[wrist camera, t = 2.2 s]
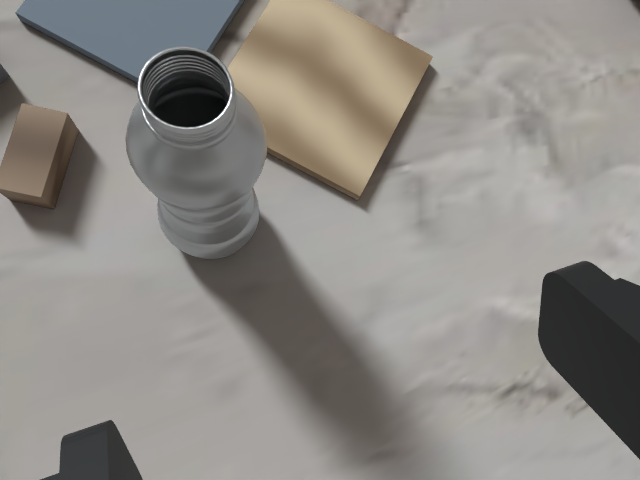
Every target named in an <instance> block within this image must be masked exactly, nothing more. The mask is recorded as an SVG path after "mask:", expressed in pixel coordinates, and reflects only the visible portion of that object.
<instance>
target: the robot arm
mask: <svg viewBox="0 0 640 480" xmlns="http://www.w3.org/2000/svg"><path fill="white" fill-rule="evenodd" d="M538 338H539V343H540V346H541V349H542V351H543V353H544V355H545V357H546V359H547V360H548V361H549V363H550V364H551V365H552V366H553V367H554V368H555V370H556V371H557V372H558V373H559V374H560V375H561V376H562V377H563V378H564V379H565V380H566V381H567V382H568V383H569V384H570V386H571V387H572V388H573V389H574V390H575V391H576V392H577V393H578V394H579V395H580V396H581V397H582V398H583V399H584V400H585V402H586V403H587V404H588V405H589V406H590V407H591V408H592V409H593V410H594V411H595V412H596V413H597V414H598V415H599V416H600V418H601V419H602V420H603V421H604V422H605V423H606V424H607V425H608V426H609V427H610V428H611V429H612V430H613V431H614V432H615V433H616V435H617V436H618V437H619V438H620V439H621V440H622V441H623V442H624V443H625V444H626V445H627V446H628V447H629V448H630V449H631V451H632V452H633V453H634V454H635V455H636V456H637V457H638V458H639V459H640V286H639V285H636V284H634V283H631V282H629V281H626V280H624V279H621V278H619V279H617V280H614V279H612V278H611V277H610V276H608V275H607V274H606V273H605V272H603V271H602V270H601V269H599V268H598V267H597V266H595V265H594V264H592V263H590V262H587V261H582V262H579V263H576V264H573V265H570V266H567V267H564V268H561V269H559V270H556V271H553V272H550V273H547V274H546V275H545V277H544V279H543V284H542V295H541V306H540V317H539V328H538ZM41 480H142V477H141V475H140V473H139V471H138V469H137V467H136V465H135V463H134V461H133V459H132V457H131V455H130V453H129V451H128V449H127V447H126V445H125V443H124V441H123V439H122V437H121V435H120V433H119V431H118V429H117V427H116V425H115V424H114V422H113V421H111V420H109V421H106V422H103V423H100V424H97V425H94V426H91V427H88V428H85V429H82V430H79V431H76V432H73V433H70V434H68V435H65V436H64V437H63V438H62V441H61V451H60V471H59V473H58V474H55V475H52V476H49V477H46V478H44V479H41Z"/></svg>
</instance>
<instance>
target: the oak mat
mask: <svg viewBox="0 0 640 480" xmlns="http://www.w3.org/2000/svg"><path fill="white" fill-rule="evenodd" d="M432 58H433V56H431V55H429V54H427V53H425V52H424V51H422V50H420V49H418V48H416V47H414V46H412V45H411V44H409V43H407V42H405V41H403V40H401V39H399V38H397V37H396V36H394V35H392V34H390V33H388V32H386V31H384V30H382V29H381V28H379V27H377V26H375V25H373V24H371V23H369V22H368V21H366V20H364V19H362V18H360V17H358V16H356V15H354V14H353V13H351V12H349V11H347V10H345V9H343V8H341V7H339V6H338V5H336V4H334V3H332V2H330V1H328V0H270V2H269V4H268V5H267V7H266V8H265V10H264V12H263V13H262V15H261V16H260V18H259V19H258V21H257V23H256V24H255V26H254V27H253V29H252V31H251V32H250V34H249V35H248V37H247V38H246V40H245V42H244V43H243V45H242V46H241V48H240V49H239V51H238V53H237V54H236V56H235V57H234V59H233V61H232V62H231V64H230V65H229V67H228V68H227V70H228V71H229V73H230V75H231V77H232V80H233V83H234V88H236V89H237V90H238V91H240V92H241V93H242V94H243V95H244V96H245V97H246V98H247V99H248V100H249V101H250V102H251V104H252V105H253V107H254V108H255V110H256V111H257V113H258V114H259V116H260V118H261V119H262V122H263V125H264V128H265V130H266V136H267V152H268V153H269V154H271V155H273V156H275V157H277V158H279V159H281V160H283V161H284V162H286V163H288V164H290V165H292V166H294V167H296V168H298V169H299V170H301V171H303V172H305V173H307V174H309V175H311V176H313V177H315V178H316V179H318V180H320V181H322V182H324V183H326V184H328V185H330V186H331V187H333V188H335V189H337V190H339V191H341V192H343V193H345V194H346V195H348V196H350V197H352V198H354V199H356V200H358V199H359V197H360V196H361V194H362V192H363V190H364V188H365V186H366V184H367V182H368V180H369V178H370V176H371V175H372V173H373V171H374V169H375V167H376V165H377V163H378V161H379V159H380V157H381V155H382V153H383V152H384V150H385V148H386V146H387V144H388V142H389V140H390V138H391V136H392V134H393V132H394V130H395V129H396V127H397V125H398V123H399V121H400V119H401V117H402V115H403V113H404V111H405V109H406V107H407V106H408V104H409V102H410V100H411V98H412V96H413V94H414V92H415V90H416V88H417V86H418V84H419V83H420V81H421V79H422V77H423V75H424V73H425V71H426V69H427V67H428V65H429V63H430V61H431V60H432Z"/></svg>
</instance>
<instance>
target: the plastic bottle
mask: <svg viewBox="0 0 640 480" xmlns="http://www.w3.org/2000/svg"><path fill="white" fill-rule="evenodd" d="M137 91H138V98H139V101H138V103H137V104H136V106H135V107H134V109H133V112H132V115H131V117H130V120H129V123H128V126H127V132H126V150H127V154H128V158H129V161H130V164H131V166H132V168H133V169H134V171H135V173H136V175H137V176H138V177H139V179H140V180H141V182H142V183H143V184H144V185H145V186H146V187H147V188H148V189H149V191H151V192H152V193H153V194H154V195H155V196H156V197H158V204H157V211H158V220H159V223H160V226H161V229H162V231H163V232H164V234H165V236H166V237H167V238H168V240H169V241H170V242H171V243H172V244H173V245H174V246H176V247H177V248H178V249H180V250H181V251H183V252H185V253H187V254H189V255H192V256H195V257H198V258H203V259H218V258H223V257H226V256H229V255H231V254H233V253H235V252H237V251H238V250H239V249H241V248H242V247H243V246H244V245H246V243H247V242H248V241H249V240H250V239H251V238H252V236H253V234H254V232H255V230H256V228H257V225H258V221H259V204H258V200H257V197H256V194H255V191H254V189H253V186H254V184H255V183H256V181H257V179H258V178H259V176H260V174H261V172H262V169H263V166H264V162H265V159H266V156H267V136H266V130H265V128H264V125H263V122H262V119H261V118H260V116H259V114H258V113H257V111H256V110H255V108H254V107H253V105H252V104H251V102H250V101H249V100H248V99H247V98H246V97H245V96H244V95H243V94H242V93H241V92H240V91H238V90H237V89H236V88H234V83H233V80H232V77H231V75H230V73H229V71H228V70H227V68H226V66H225V65H224V64H223V63H222V62H221V61H220V60H219V59H218V58H217V57H215V56H214V55H213V54H211V53H209V52H207V51H205V50H202V49H199V48H196V47H188V46H177V47H172V48H168V49H165V50H163V51H160V52H158V53H157V54H155V55H154V56H152V57H151V58H150V59H149V60H148V61H147V62H146V63H145V65H144V66H143V68H142V69H141V72H140V75H139V77H138V84H137Z"/></svg>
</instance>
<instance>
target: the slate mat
mask: <svg viewBox="0 0 640 480" xmlns="http://www.w3.org/2000/svg"><path fill="white" fill-rule="evenodd" d="M243 2H244V0H25V1H24V2H23V4H22V5H21V6H20V8H19V9H18V10H17V11H16V14H17V16H18V18H19V19H20V21H22V22H24V23H26V24H27V25H29V26H31V27H33V28H35V29H37V30H39V31H41V32H42V33H44V34H46V35H48V36H50V37H52V38H54V39H56V40H57V41H59V42H61V43H63V44H65V45H67V46H69V47H71V48H72V49H74V50H76V51H78V52H80V53H82V54H84V55H86V56H87V57H89V58H91V59H93V60H95V61H97V62H99V63H101V64H103V65H104V66H106V67H108V68H110V69H112V70H114V71H116V72H118V73H119V74H121V75H123V76H125V77H127V78H129V79H131V80H133V81H134V82H136V83H138V77H139V75H140V72H141V69H142V68H143V66H144V65H145V63H146V62H147V61H148V60H149V59H150V58H151V57H152V56H154V55H155V54H157V53H158V52H160V51H163V50H165V49H168V48H172V47H177V46H188V47H196V48H199V49H202V50H205V51H207V52H209V53H211V51H212V50H213V48H214V47H215V45H216V44H217V42H218V41H219V39H220V38H221V36H222V34H223V33H224V31H225V30H226V28H227V27H228V25H229V24H230V22H231V21H232V19H233V17H234V16H235V14H236V13H237V11H238V10H239V8H240V7H241V5H242V4H243Z"/></svg>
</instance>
